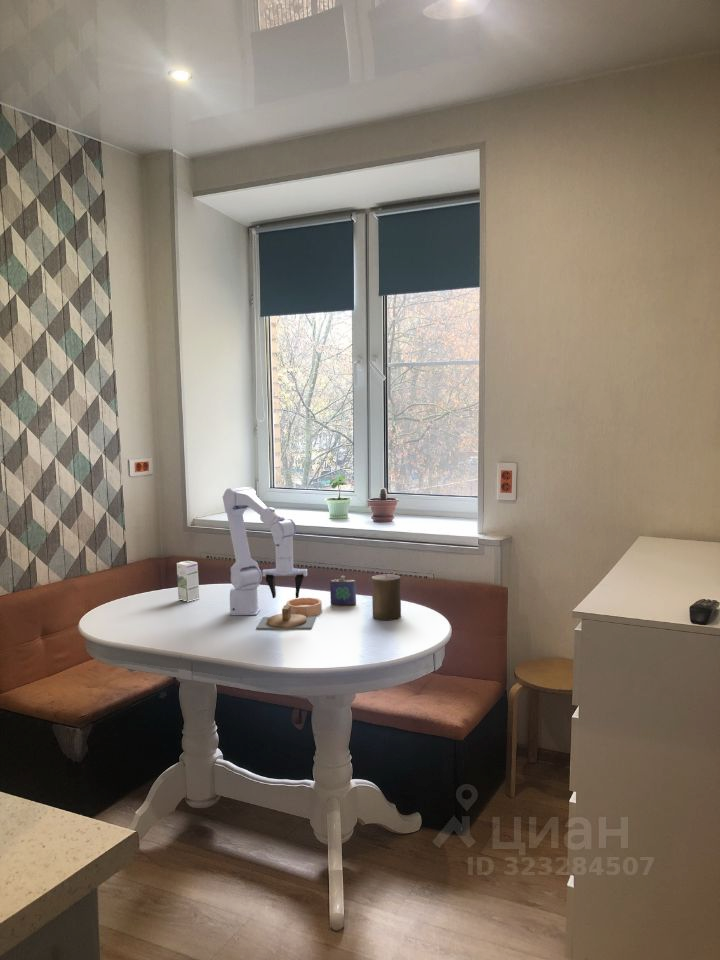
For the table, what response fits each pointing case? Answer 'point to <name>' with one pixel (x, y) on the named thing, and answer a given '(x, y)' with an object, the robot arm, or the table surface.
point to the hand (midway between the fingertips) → (285, 597)
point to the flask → (343, 592)
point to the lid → (286, 619)
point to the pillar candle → (386, 596)
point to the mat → (306, 625)
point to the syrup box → (188, 580)
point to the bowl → (305, 606)
